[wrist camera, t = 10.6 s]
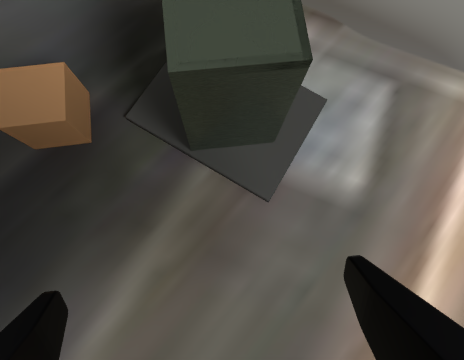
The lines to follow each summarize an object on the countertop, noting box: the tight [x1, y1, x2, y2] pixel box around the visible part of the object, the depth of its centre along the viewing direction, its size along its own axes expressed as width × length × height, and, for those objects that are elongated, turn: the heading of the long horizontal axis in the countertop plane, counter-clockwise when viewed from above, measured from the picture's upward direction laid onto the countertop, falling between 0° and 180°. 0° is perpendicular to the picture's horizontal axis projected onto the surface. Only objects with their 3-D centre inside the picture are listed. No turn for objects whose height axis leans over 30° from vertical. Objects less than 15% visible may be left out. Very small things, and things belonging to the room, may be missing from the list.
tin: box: [162, 0, 313, 151], centre depth 19 cm, size 6×6×10 cm
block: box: [0, 62, 92, 149], centre depth 22 cm, size 4×4×4 cm
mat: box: [126, 61, 327, 202], centre depth 24 cm, size 12×9×1 cm
